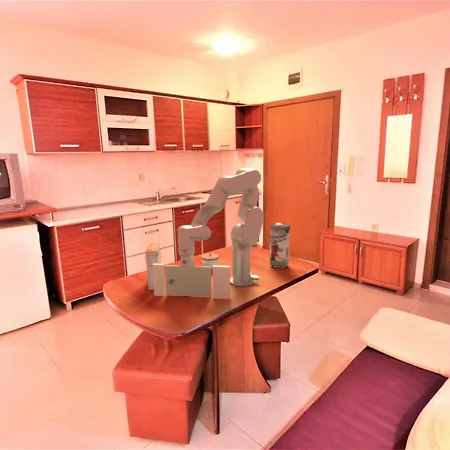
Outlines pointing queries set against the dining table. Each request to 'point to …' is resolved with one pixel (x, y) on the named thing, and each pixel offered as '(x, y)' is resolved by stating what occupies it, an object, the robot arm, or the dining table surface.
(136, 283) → the dining table surface
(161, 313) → the dining table surface
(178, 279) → the door
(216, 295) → the door frame
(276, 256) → the juice carton
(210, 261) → the lidded jar
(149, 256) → the cracker box
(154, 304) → the dining table surface
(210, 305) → the dining table surface
